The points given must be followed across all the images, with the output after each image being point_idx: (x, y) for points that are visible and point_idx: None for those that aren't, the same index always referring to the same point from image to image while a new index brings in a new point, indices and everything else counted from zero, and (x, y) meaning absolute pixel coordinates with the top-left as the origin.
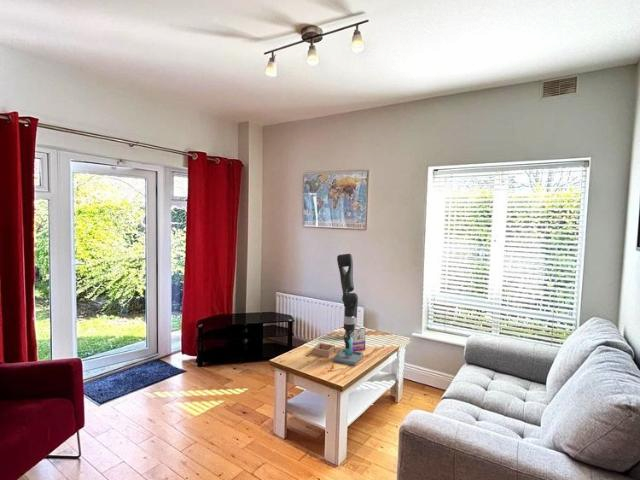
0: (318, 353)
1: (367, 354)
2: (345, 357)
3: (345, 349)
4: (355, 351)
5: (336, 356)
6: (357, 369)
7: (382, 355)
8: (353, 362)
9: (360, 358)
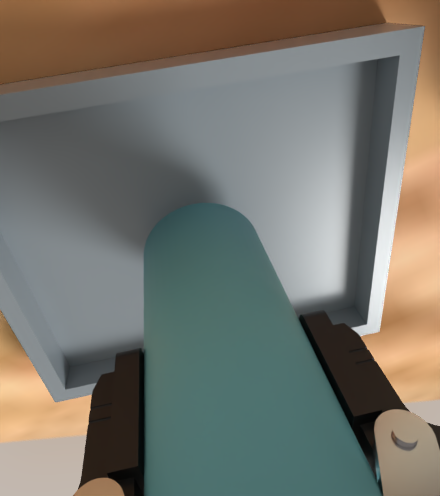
0: None
1: (423, 310)
2: (168, 205)
3: (153, 295)
4: (385, 253)
5: (12, 118)
6: (10, 411)
7: (437, 394)
8: (50, 382)
9: None
